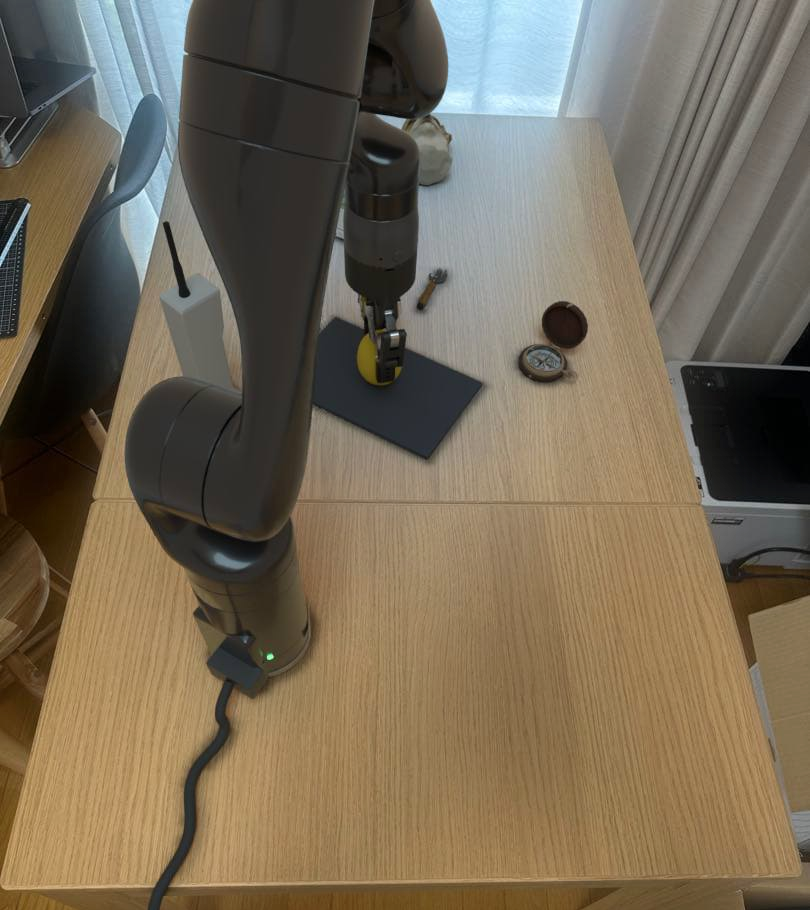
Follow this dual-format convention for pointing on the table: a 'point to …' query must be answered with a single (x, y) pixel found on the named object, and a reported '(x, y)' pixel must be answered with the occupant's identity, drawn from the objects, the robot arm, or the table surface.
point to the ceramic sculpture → (430, 147)
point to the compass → (555, 342)
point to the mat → (390, 392)
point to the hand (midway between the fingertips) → (379, 361)
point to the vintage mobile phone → (196, 324)
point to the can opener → (431, 287)
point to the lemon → (370, 360)
